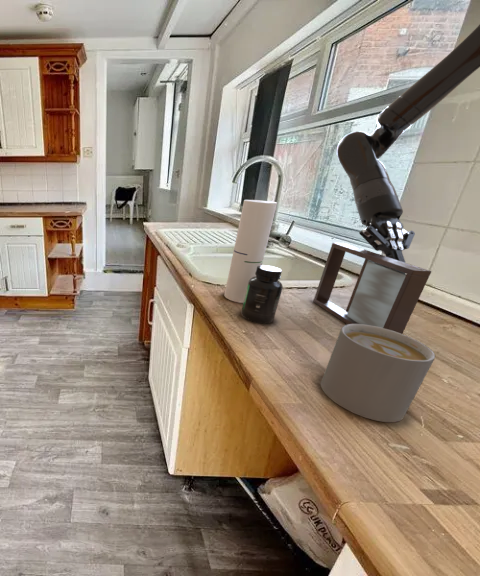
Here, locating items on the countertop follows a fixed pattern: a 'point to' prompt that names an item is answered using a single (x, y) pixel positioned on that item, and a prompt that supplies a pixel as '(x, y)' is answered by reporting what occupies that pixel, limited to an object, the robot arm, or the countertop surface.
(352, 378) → the coffee mug
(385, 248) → the robot arm
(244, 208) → the cylindrical container
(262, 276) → the supplement bottle
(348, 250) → the window frame
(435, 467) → the countertop surface
